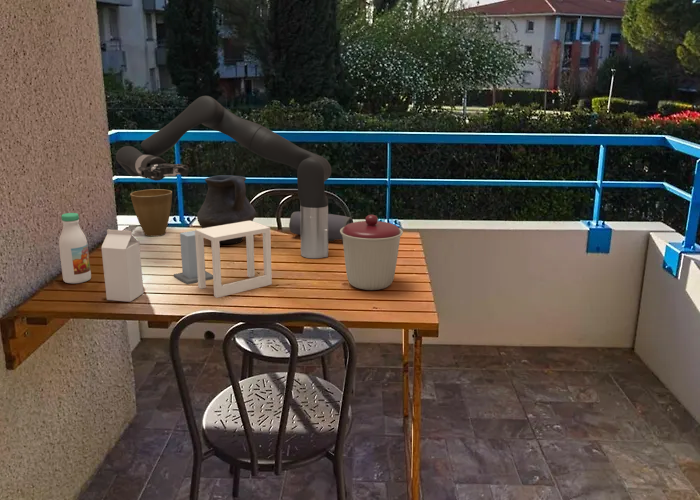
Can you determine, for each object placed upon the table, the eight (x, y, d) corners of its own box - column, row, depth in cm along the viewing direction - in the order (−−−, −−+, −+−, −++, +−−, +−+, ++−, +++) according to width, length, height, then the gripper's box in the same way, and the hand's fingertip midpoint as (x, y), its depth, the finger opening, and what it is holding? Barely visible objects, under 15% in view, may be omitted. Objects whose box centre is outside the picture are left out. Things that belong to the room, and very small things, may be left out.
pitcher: (236, 231, 244) (233, 167, 238) (269, 242, 229) (267, 174, 222) (188, 240, 231) (184, 172, 224) (220, 253, 216) (216, 180, 209)
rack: (198, 287, 182) (194, 229, 178) (251, 275, 194) (250, 220, 189) (216, 297, 174) (213, 237, 170) (271, 284, 186) (270, 227, 181)
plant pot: (181, 230, 245) (178, 189, 241) (164, 240, 231) (160, 197, 227) (145, 228, 248) (142, 187, 243) (126, 237, 234) (122, 195, 229)
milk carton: (130, 302, 170) (124, 234, 165) (106, 300, 172) (99, 232, 166) (143, 293, 177) (138, 227, 172) (120, 291, 178) (114, 226, 173)
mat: (173, 276, 191) (173, 274, 191) (200, 271, 197) (200, 268, 197) (187, 284, 185) (187, 281, 184) (214, 278, 190) (214, 275, 190)
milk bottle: (64, 285, 183) (56, 218, 177) (62, 277, 189) (54, 212, 184) (92, 281, 186) (85, 215, 181) (89, 274, 193) (82, 210, 187)
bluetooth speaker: (288, 239, 235) (287, 212, 232) (300, 233, 243) (299, 207, 240) (344, 246, 226) (344, 219, 223) (354, 240, 234) (354, 213, 231)
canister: (404, 277, 193) (407, 210, 187) (396, 297, 176) (399, 224, 170) (346, 273, 196) (347, 206, 191) (333, 292, 179) (333, 220, 174)
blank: (182, 274, 191) (179, 233, 187) (197, 271, 194) (195, 230, 190) (190, 278, 187) (187, 236, 184) (205, 275, 190) (203, 233, 187)
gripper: (128, 157, 198) (150, 163, 186) (171, 153, 207) (194, 159, 195) (130, 181, 200) (152, 188, 188) (172, 176, 209) (195, 183, 197)
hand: (173, 173), depth 191 cm, fingers open, 8 cm apart
